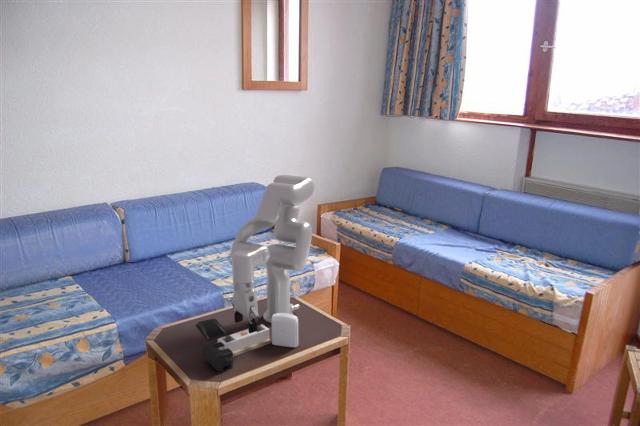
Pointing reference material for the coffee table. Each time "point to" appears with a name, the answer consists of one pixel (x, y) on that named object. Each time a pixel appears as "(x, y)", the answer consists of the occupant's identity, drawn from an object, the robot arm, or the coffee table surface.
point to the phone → (212, 328)
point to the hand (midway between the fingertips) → (245, 326)
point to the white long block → (245, 339)
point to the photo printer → (285, 330)
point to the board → (243, 350)
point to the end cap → (217, 356)
